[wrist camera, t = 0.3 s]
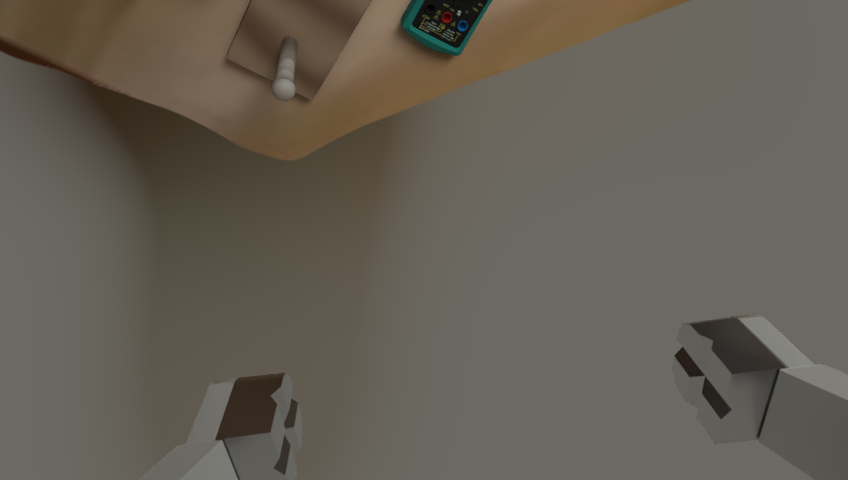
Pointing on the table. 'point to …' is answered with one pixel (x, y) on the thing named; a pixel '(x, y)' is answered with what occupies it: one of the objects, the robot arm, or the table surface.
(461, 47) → the digital multimeter
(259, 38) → the keeper board
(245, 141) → the table surface
